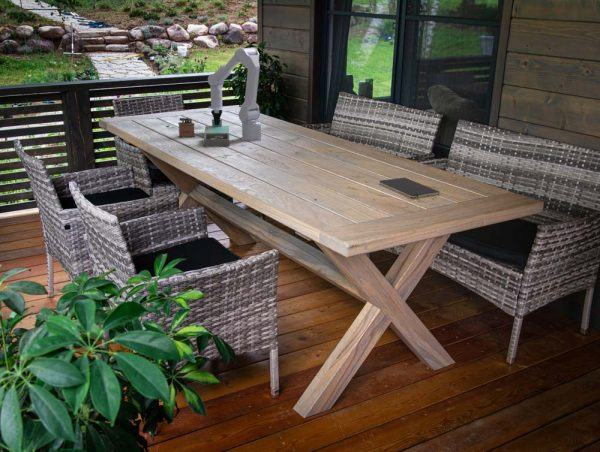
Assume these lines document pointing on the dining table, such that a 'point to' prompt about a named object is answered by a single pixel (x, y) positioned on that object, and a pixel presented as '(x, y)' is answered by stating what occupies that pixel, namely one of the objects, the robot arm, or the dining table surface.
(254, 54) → the robot arm
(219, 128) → the lid
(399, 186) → the notebook
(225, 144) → the tub
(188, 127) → the lighter
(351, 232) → the dining table surface
